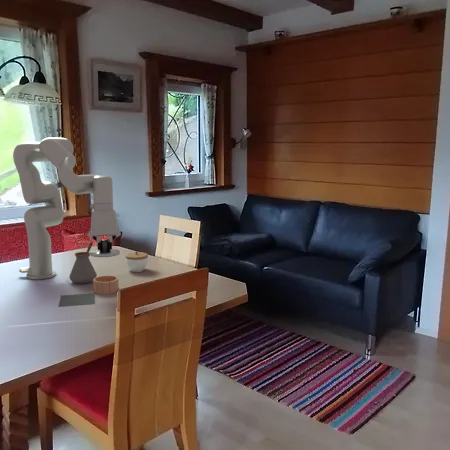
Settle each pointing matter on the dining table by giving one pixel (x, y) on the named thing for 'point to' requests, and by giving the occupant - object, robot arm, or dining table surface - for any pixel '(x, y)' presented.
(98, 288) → the bowl
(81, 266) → the coffee pot
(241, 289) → the dining table surface
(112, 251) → the lid
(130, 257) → the lidded jar
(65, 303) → the mat
